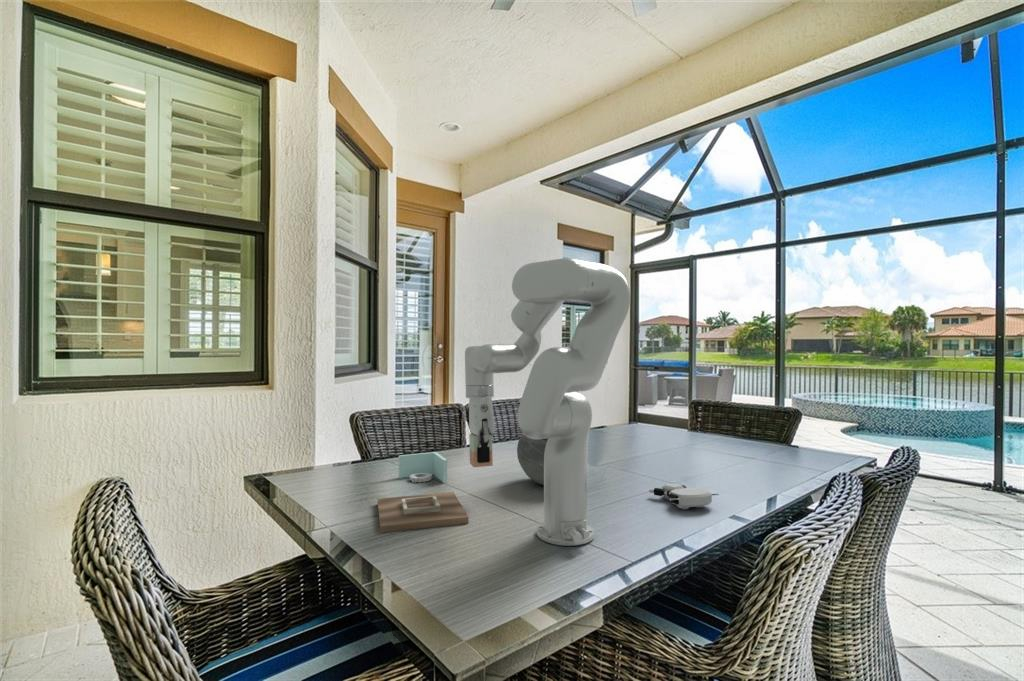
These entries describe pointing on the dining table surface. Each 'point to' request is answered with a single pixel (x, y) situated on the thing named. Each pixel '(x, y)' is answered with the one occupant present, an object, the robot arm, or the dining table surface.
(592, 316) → the robot arm
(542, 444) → the bowl
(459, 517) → the walnut board
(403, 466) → the right angle wall
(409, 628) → the dining table surface
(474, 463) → the stack block
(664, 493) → the robot toy
